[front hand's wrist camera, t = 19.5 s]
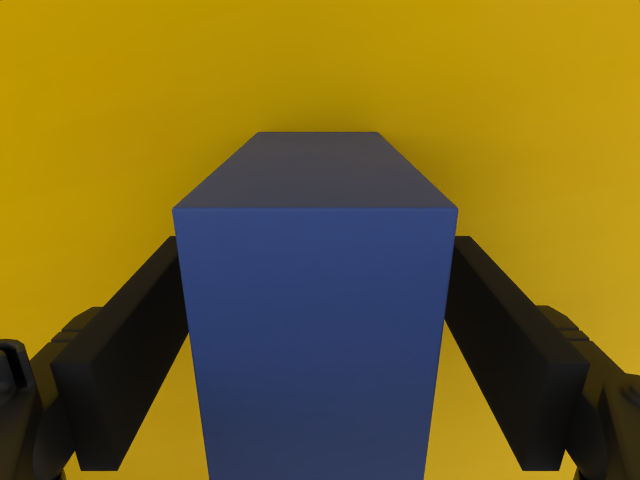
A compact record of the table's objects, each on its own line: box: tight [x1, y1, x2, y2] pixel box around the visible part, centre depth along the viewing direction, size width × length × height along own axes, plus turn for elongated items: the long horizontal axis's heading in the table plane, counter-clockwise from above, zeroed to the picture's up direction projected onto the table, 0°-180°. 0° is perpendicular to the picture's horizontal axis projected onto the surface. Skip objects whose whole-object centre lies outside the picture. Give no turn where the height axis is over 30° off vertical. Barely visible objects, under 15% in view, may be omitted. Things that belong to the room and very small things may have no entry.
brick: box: [172, 132, 458, 480], centre depth 13 cm, size 5×8×10 cm, turn 0°
